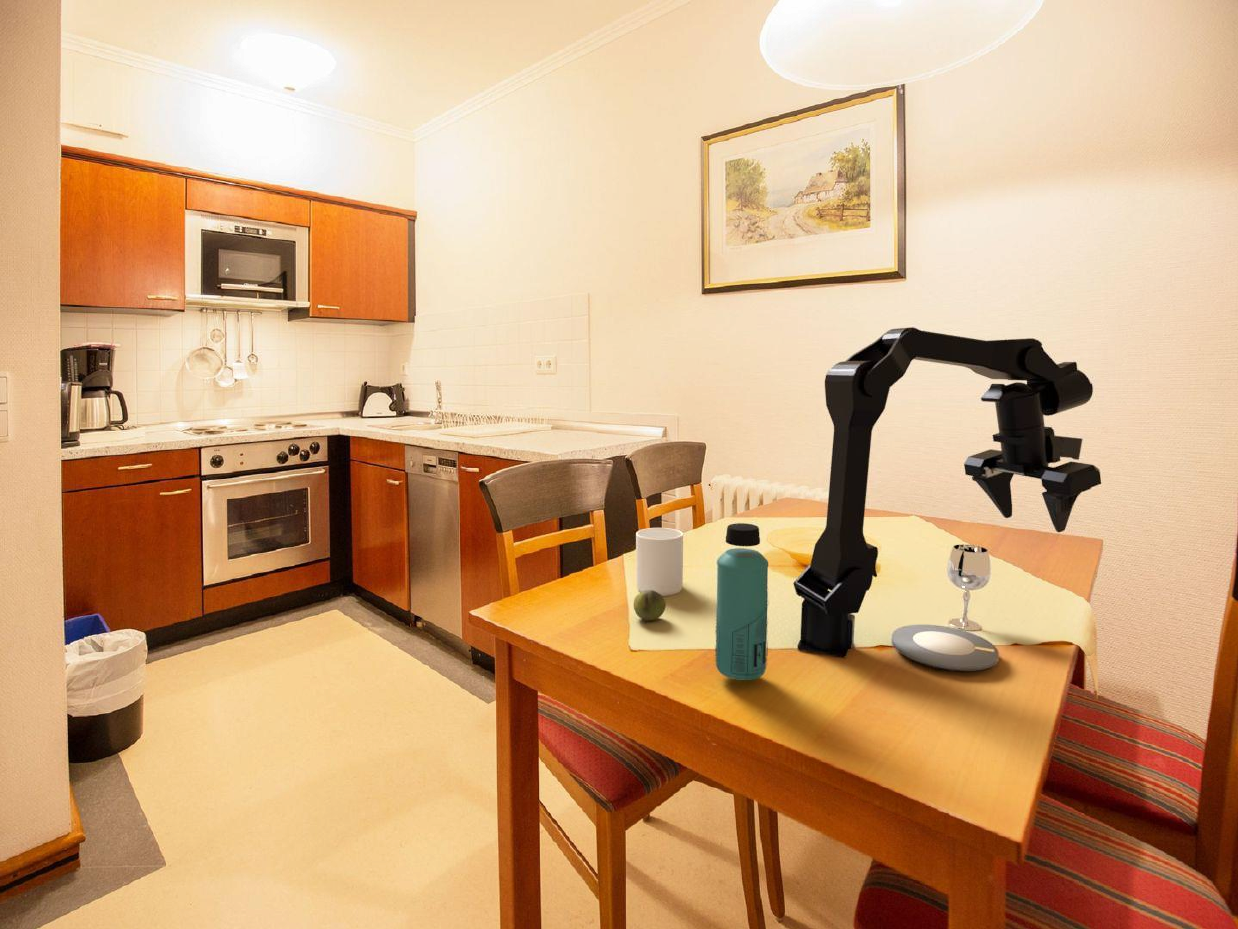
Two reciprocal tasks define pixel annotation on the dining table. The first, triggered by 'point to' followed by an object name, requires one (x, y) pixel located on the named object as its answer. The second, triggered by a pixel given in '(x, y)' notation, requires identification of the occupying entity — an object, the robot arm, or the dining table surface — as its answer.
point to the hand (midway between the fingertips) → (1033, 524)
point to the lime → (649, 605)
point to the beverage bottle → (741, 606)
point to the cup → (659, 560)
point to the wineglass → (968, 576)
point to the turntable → (945, 647)
